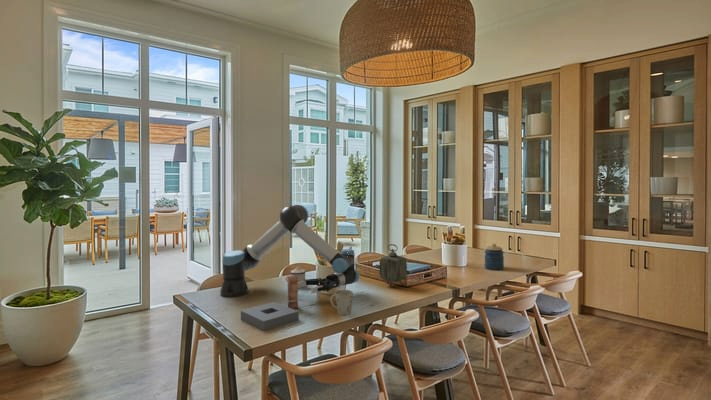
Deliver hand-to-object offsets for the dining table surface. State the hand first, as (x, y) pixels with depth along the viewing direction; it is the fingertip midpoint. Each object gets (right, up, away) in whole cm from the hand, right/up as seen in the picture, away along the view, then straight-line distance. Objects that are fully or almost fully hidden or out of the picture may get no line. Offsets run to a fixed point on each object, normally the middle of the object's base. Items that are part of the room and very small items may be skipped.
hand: (303, 288), depth 198 cm
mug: (+19, -9, -11) cm, 24 cm away
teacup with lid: (-9, -8, +38) cm, 40 cm away
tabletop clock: (+48, -7, +35) cm, 60 cm away
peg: (-5, -9, -4) cm, 11 cm away
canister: (+124, -4, +79) cm, 147 cm away
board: (-13, -10, -20) cm, 25 cm away
